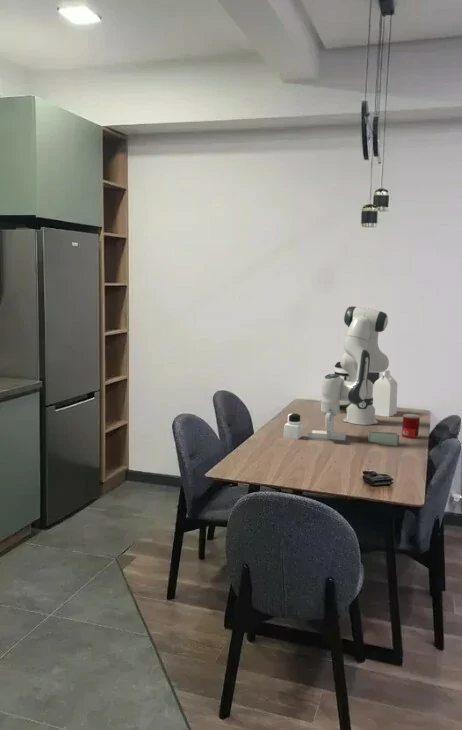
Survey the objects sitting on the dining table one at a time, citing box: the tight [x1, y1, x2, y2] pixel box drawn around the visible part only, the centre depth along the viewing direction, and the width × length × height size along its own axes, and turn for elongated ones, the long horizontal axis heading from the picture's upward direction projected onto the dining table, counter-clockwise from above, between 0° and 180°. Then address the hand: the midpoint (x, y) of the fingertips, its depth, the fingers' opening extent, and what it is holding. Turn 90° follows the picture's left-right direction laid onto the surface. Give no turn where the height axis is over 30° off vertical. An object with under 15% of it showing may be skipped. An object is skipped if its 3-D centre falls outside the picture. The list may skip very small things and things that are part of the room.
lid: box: [311, 429, 347, 440], centre depth 308 cm, size 6×16×4 cm, turn 82°
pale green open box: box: [367, 430, 400, 446], centre depth 305 cm, size 5×14×5 cm, turn 82°
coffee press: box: [334, 361, 352, 382], centre depth 398 cm, size 17×16×30 cm
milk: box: [372, 369, 398, 418], centre depth 375 cm, size 12×12×26 cm
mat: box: [307, 432, 351, 444], centre depth 309 cm, size 14×20×1 cm
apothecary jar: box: [338, 399, 351, 414], centre depth 378 cm, size 12×12×18 cm
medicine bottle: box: [283, 413, 304, 440], centre depth 307 cm, size 7×7×12 cm
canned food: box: [401, 413, 421, 439], centre depth 320 cm, size 8×8×11 cm
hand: (328, 435), depth 309 cm, fingers closed on lid, 6 cm apart
